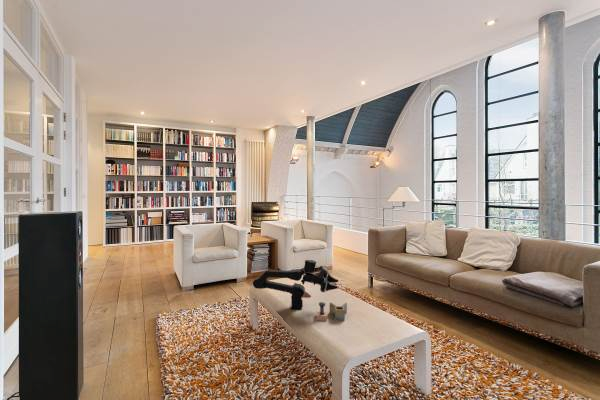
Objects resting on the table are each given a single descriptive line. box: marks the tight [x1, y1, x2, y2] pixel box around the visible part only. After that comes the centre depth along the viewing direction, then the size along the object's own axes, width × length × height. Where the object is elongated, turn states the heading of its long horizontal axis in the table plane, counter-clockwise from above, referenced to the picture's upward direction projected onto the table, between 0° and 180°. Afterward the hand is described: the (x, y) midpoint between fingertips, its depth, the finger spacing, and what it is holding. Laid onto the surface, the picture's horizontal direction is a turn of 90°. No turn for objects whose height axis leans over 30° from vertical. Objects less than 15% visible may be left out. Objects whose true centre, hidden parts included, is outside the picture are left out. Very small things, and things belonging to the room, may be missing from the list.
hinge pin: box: [318, 301, 326, 315], centre depth 173 cm, size 4×4×8 cm
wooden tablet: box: [302, 290, 312, 299], centre depth 218 cm, size 27×10×2 cm, turn 21°
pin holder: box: [315, 311, 328, 321], centre depth 173 cm, size 6×6×2 cm
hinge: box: [329, 302, 348, 322], centre depth 176 cm, size 10×11×6 cm
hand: (338, 284), depth 184 cm, fingers open, 9 cm apart
